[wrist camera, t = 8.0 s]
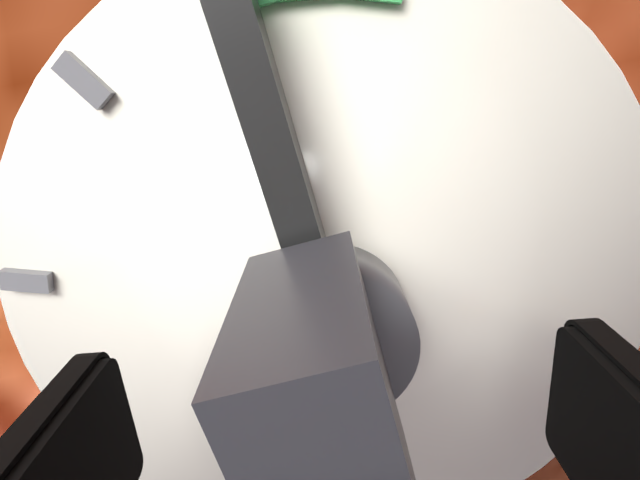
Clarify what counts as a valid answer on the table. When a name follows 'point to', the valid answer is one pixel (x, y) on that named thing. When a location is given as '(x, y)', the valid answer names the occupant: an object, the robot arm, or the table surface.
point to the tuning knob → (300, 311)
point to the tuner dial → (330, 205)
